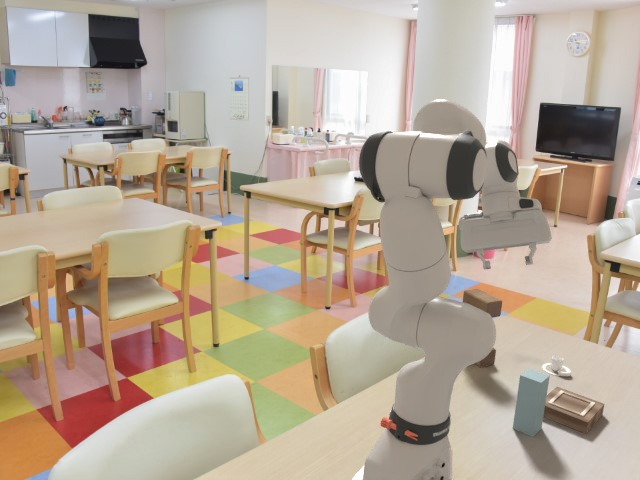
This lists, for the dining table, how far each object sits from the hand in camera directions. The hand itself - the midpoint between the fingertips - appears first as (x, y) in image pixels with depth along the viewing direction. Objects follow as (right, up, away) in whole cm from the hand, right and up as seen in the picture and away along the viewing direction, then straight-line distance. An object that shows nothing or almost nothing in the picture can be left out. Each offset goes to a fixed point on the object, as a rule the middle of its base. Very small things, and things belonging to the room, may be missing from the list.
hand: (508, 266), depth 137 cm
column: (+6, -39, +6) cm, 40 cm away
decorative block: (+3, -29, +41) cm, 50 cm away
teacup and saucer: (+23, -33, +34) cm, 53 cm away
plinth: (+19, -38, +12) cm, 44 cm away
